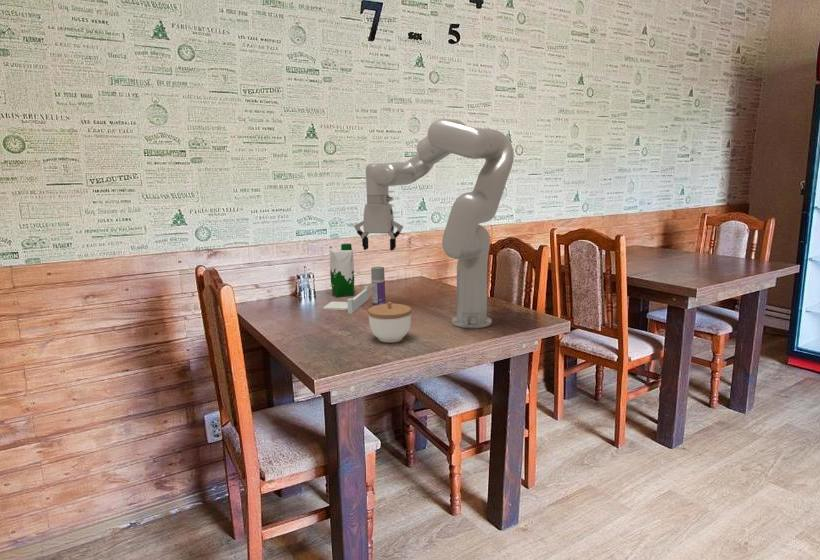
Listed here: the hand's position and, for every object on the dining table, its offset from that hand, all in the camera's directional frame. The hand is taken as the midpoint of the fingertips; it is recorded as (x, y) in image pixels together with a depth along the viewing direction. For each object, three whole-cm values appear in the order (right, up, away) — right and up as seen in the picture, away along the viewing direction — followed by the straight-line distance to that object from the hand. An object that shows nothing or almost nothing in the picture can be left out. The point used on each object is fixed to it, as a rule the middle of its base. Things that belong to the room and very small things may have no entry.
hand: (379, 249), depth 193 cm
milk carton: (-16, -17, +26) cm, 34 cm away
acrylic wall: (-8, -20, +8) cm, 23 cm away
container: (0, -21, +3) cm, 21 cm away
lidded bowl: (+5, -28, -30) cm, 42 cm away
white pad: (-15, -20, +8) cm, 26 cm away
